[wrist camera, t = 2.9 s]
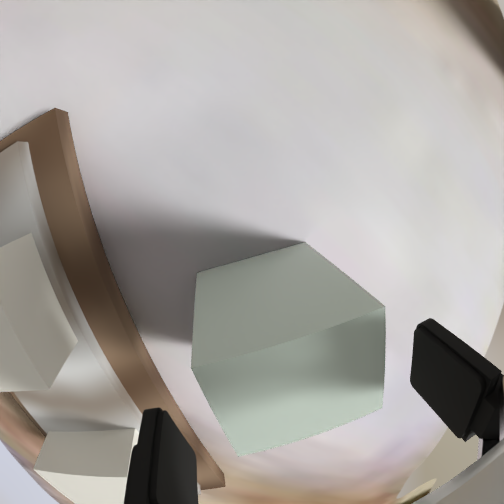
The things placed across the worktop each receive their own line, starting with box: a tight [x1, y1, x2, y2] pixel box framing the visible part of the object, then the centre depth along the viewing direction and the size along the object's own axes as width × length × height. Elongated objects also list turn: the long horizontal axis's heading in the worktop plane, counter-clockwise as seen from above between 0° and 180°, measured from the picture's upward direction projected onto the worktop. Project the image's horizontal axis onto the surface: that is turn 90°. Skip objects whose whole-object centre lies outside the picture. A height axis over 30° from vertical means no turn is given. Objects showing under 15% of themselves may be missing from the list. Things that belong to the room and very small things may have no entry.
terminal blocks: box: [0, 233, 139, 504], centre depth 12 cm, size 19×8×4 cm, turn 14°
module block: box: [191, 242, 386, 456], centre depth 13 cm, size 5×6×8 cm
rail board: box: [0, 108, 225, 494], centre depth 15 cm, size 30×13×2 cm, turn 14°
